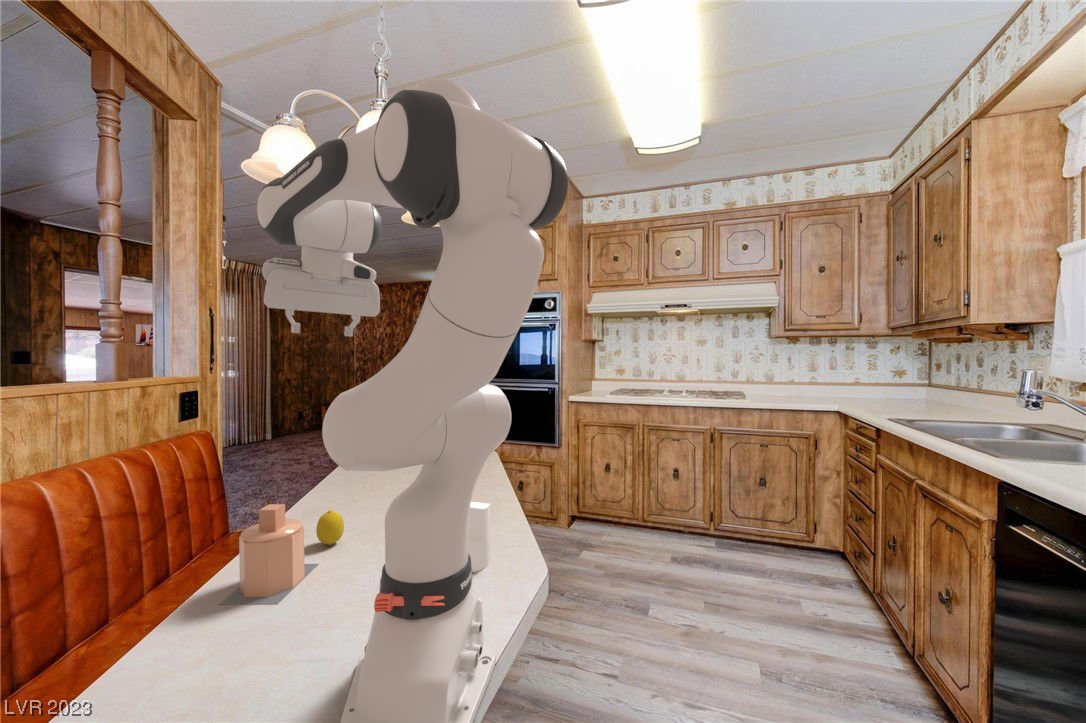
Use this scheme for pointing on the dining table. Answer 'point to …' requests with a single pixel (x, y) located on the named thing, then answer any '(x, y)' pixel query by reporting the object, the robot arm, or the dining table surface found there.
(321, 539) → the lemon
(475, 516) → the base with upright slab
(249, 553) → the cloche
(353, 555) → the dining table surface
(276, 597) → the mat
